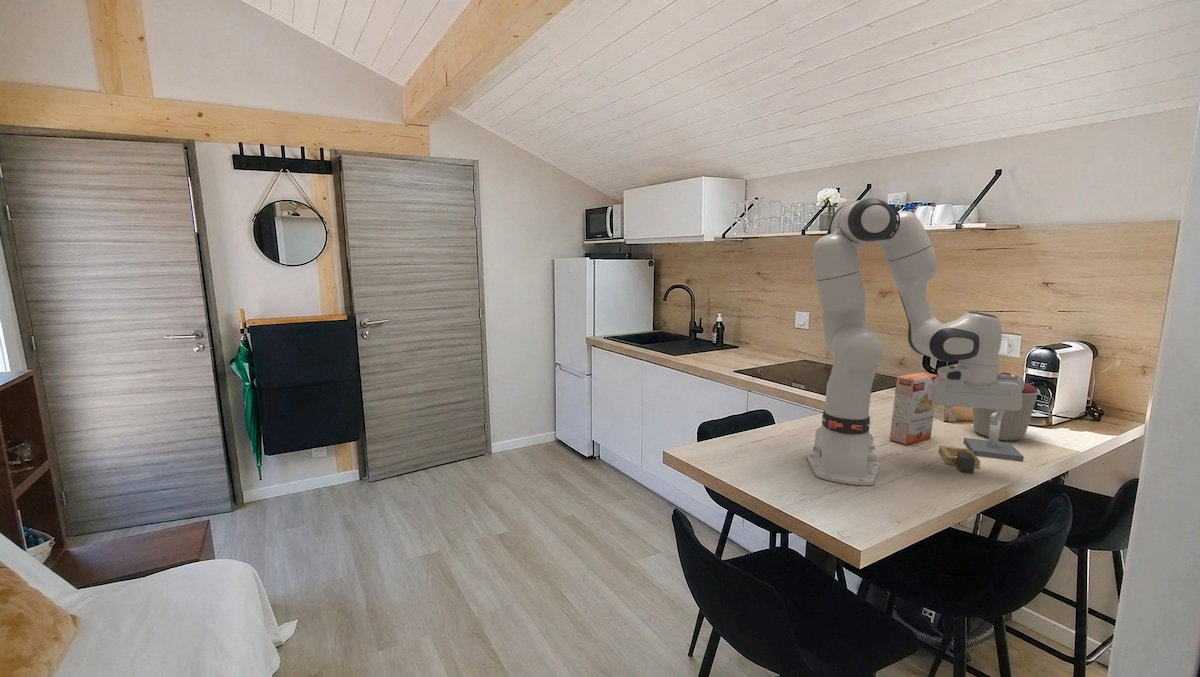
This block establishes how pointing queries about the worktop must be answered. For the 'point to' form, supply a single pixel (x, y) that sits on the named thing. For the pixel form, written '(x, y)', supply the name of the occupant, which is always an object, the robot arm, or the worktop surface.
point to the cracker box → (912, 408)
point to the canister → (1008, 417)
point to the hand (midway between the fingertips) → (972, 423)
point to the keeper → (993, 445)
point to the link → (960, 458)
